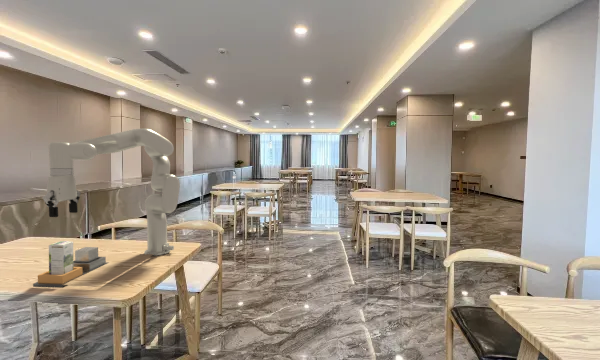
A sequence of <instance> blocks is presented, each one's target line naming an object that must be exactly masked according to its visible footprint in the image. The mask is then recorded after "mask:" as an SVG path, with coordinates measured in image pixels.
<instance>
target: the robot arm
mask: <svg viewBox="0 0 600 360" xmlns="http://www.w3.org/2000/svg"><path fill="white" fill-rule="evenodd" d="M137 147H144V148H143V149H144V151H145V153H146V154H147V155H148V156H149V158H150V159H151V161H152V171H151V172H152V173H151V178H150V179H151V180H150V187H151V189H152V190H153V191H154V192H155V191H156V192H160V193H152V194H150V195H148V196H147V197H146V199H144V200H145V201H144V208H145V212H146V221H147V223H146V224H147V225H146V230H147V232H146V235H147V239H146V240H147V249H145V250H144V251H143V253H144V255H152V256H153V257H154V256H163V255H166V254H169V253H170V252H171V251H174V250H175V246H174V245H170V243H169V242H168V221H167V219H168V218H167V215H166V214H171V213H174V211H175V210H176V209H177V207H178V201H179V194H180V180H179V178H178V176H176V175H174V174H172V173H171V161H170V159H169V156H171V155H173V153H174V150H175V149H174V144H173V143H172V141H170V140H169V139H167V138H166V137H164V136H163V135H161V134H160V133H157V132H156V131H154V130H152V129H150V128H145V127H144V128H133V129H128V130H125V131H121V132H116V133H111V134H107V135H102V136H98V137H94V138H89V139H85V140H80V141H74V142H66V141H65V142H64V141H62V142H61V141H51V142H50V143H49V144H48V160H49V176H48V177H47V184H46V194H45V195H43V196H42V200H43V201H44V204H45V205H46V207H47V208H48V216H49V218H57V217H59V207H58V206H57V205H58V204H59V202H65V201H66V202H67V201H68V210H69V211H68V213H70V214H77V213H79V212H78V211H79V210H78V203H79V200H80V198H81V197H80V196H81V194H82V192H81V191H80V190H77V189H78V188H77V183H76V178H75V175H74V173H75V172H74V171H75V170H74V161H90V160H93V159H94V158H95V157H96V156H97V155H102V154H103V155H104V154H105V155H106V154H115V153H121V152H123V151H126V150H130V149H134V148H137Z"/></svg>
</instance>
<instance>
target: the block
mask: <svg viewBox="0 0 600 360" xmlns="http://www.w3.org/2000/svg"><path fill="white" fill-rule="evenodd" d="M74 254H75V256H74V257H75V258H74V259H75V263H90V262H93V261H95V260H97V259H98V257H99V247H96V246H84V247H82V248H79V249H76V250H74Z"/></svg>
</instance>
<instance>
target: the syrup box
mask: <svg viewBox="0 0 600 360" xmlns="http://www.w3.org/2000/svg"><path fill="white" fill-rule="evenodd" d="M73 261H74V241H69V240H62V241H57V242H54V243H51V244H49V245H48V271H49V275H63V274H65V273H68V272H70V271H72V270H73Z"/></svg>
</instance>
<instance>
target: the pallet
mask: <svg viewBox="0 0 600 360" xmlns="http://www.w3.org/2000/svg"><path fill="white" fill-rule="evenodd" d="M109 263H110V262H107V261H106V256H98V259H97V260H95V261H93V262H90V263H75V260H74V259H73V270H72V271H70V272H68V273H65V274H63V275H49V270H47V271H44V272H42V273H40V274H38V275H37V281H36V282H34V283H32V287H34V288H65V287H68V286H69V284H68V283H69V282H72V281H74V280H75V279H78V278H80V277H83V276H85V275H86V274H88V273H91V272H92V271H95V270H97V269H98V268H99V269H100V268H101V267H103V266H105V265H107V264H109Z"/></svg>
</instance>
